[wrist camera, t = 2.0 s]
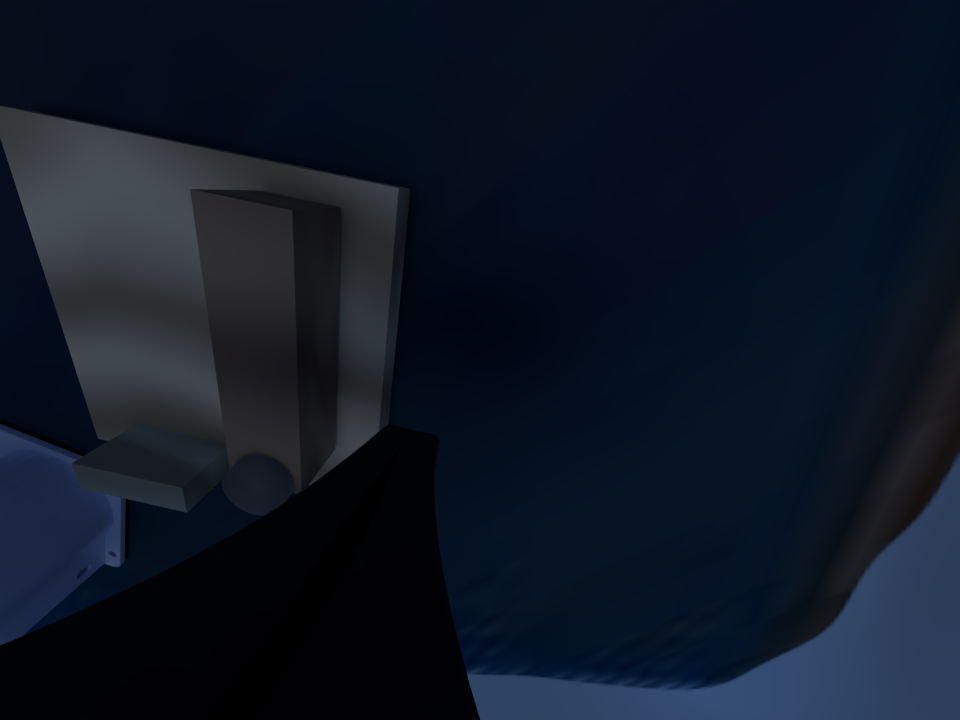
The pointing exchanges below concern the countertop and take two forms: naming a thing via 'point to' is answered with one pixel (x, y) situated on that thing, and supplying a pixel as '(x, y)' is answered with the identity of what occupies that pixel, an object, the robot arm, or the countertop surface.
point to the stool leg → (271, 336)
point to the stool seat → (184, 293)
